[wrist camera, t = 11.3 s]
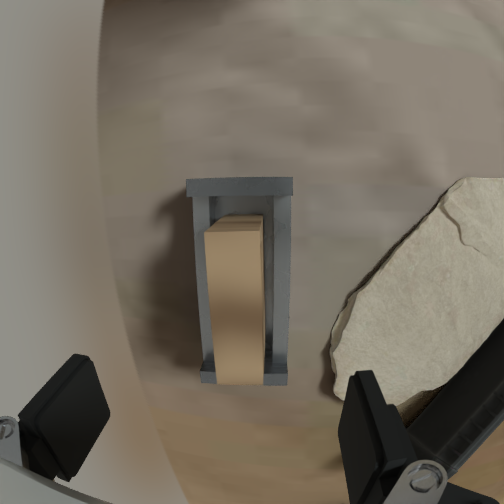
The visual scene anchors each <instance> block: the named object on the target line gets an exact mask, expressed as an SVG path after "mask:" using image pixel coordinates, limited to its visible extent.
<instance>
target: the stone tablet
mask: <svg viewBox="0 0 504 504" xmlns="http://www.w3.org/2000/svg"><path fill="white" fill-rule="evenodd" d="M503 318H504V178H496V179H495V178H474V177H467V178H463V179H461V180H458V181H457V182H456V183H455V184H454V186H452V187H451V188H449V190H448V191H447V193H446V194H445V195H444V196H443V197H441V199H440V201H439V203H438V205H437V206H436V208H435V209H434V210H433V211H432V212H431V213H430V214H429V215H427V216H425V218H424V219H423V220H422V221H421V222H420V224H419V225H418V226H417V228H416V229H415V230H414V231H413V232H412V233H411V234H410V235H409V236H408V237H407V238H406V239H405V240H404V241H403V242H402V243H400V244H399V245H398V246H397V247H396V248H395V250H394V251H393V252H392V254H391V255H390V257H389V258H388V259H387V261H385V262H384V263H383V264H382V266H381V267H380V268H379V270H378V271H377V272H376V273H375V274H374V275H373V276H372V277H371V278H370V280H369V281H368V282H367V283H366V284H365V285H364V286H363V287H361V288H360V289H359V290H358V291H356V292H354V293H353V294H352V295H351V297H350V298H349V299H348V303H347V306H346V307H345V308H344V309H343V310H342V311H341V312H340V313H339V316H338V319H337V321H336V322H335V324H334V326H333V329H332V339H331V347H330V357H331V366H332V370H333V372H334V373H335V383H334V385H333V391H334V394H335V395H336V396H338V397H339V398H340V399H341V400H345V396H346V391H347V386H348V381H349V377H350V376H351V375H354V374H355V372H356V371H362V370H372V371H373V372H374V375H375V377H376V379H377V382H378V384H379V386H380V389H381V391H382V394H383V396H384V399H385V401H386V404H394V405H395V406H398V405H399V404H401V403H403V402H404V401H406V400H407V399H409V398H410V397H412V396H413V395H415V394H416V393H418V392H420V391H425V390H433V389H435V388H437V387H440V386H442V385H443V384H445V383H447V382H448V380H449V379H450V378H452V377H453V376H454V375H455V374H456V373H457V372H458V371H459V370H460V369H461V368H462V367H463V366H464V364H465V363H466V362H467V360H468V359H469V358H470V356H471V355H472V354H473V353H474V352H475V351H476V350H477V349H478V348H479V347H480V346H481V345H482V343H483V342H484V341H485V340H486V339H487V338H488V337H489V335H490V334H491V332H492V331H493V330H494V329H495V328H496V327H497V326H498V325H499V323H500V322H501V321H502V320H503Z"/></svg>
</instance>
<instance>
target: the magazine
mask: <svg viewBox="0 0 504 504" xmlns="http://www.w3.org/2000/svg"><path fill="white" fill-rule="evenodd" d="M503 420H504V319H503V320H502V321H501V322H500V324H499V325H498V326H497V327H496V328H495V330H494V331H493V332H492V333H491V334H490V335H489V337H488V338H487V339H486V340H485V341H484V342H483V344H482V345H481V346H480V347H479V348H478V349H477V351H476V352H475V353H474V354H473V355H472V356H471V357H470V358H469V360H468V361H467V362H466V363H465V364H464V366H463V367H462V368H461V369H460V370H459V371H458V372H457V373H456V374H455V375H454V376H453V378H452V379H451V380H450V381H449V382H448V383H447V384H446V386H445V387H444V388H443V389H442V390H441V391H440V392H439V394H438V395H437V396H436V397H435V398H434V400H433V401H432V402H431V403H430V404H429V405H428V406H427V407H426V409H425V410H424V411H423V412H422V413H421V414H420V415H419V416H418V417H417V418H416V419H415V421H414V422H413V423H412V424H411V425H410V426H409V427H408V428H407V427H405V429H406V432H407V434H408V436H409V439H410V441H411V444H412V446H413V449H414V451H415V454H416V456H417V459H418V461H419V460H431V461H435V462H437V463H439V464H440V465H441V466H442V467H443V468H444V469H445V471H446V472H447V477H448V479H449V478H450V477H452V476H453V475H454V474H455V473H457V472H458V469H459V468H460V467H461V466H462V465H463V464H464V463H465V462H466V461H467V460H468V458H469V457H470V456H471V455H472V454H473V453H474V452H475V451H476V450H477V449H478V448H479V447H480V446H481V444H482V443H483V442H484V441H485V440H486V439H487V438H488V437H489V436H490V434H491V433H492V432H493V431H494V430H495V429H496V428H497V427H498V426H499V425H500V424H501V422H502V421H503ZM456 469H457V470H456Z"/></svg>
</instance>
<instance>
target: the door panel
mask: <svg viewBox="0 0 504 504" xmlns="http://www.w3.org/2000/svg"><path fill="white" fill-rule="evenodd" d="M204 239H205V256H206V270H207V283H208V296H209V308H210V319H211V330H212V340H213V350H214V360H215V369H216V377H217V384H227V385H263V377H264V355H265V331H266V325H265V271H264V228H263V214H230V215H224V216H223V217H222V218H220V219H219V220H218V221H217V222H216V223H214V224H213V225H212V226H211V227H210V228H209V229H207V230H206V231H205V232H204Z"/></svg>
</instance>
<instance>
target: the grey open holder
mask: <svg viewBox="0 0 504 504" xmlns="http://www.w3.org/2000/svg"><path fill="white" fill-rule="evenodd" d="M186 192H187V197H192V198H193V224H194V244H195V262H196V278H197V292H198V305H199V317H200V329H201V340H202V350H203V360H204V361H203V364H202V367H201V369H200V377H201V383H213V384H217V377H216V369H215V360H214V350H213V340H212V330H211V319H210V308H209V296H208V283H207V270H206V256H205V239H204V232H205V231H206V230H207V229H209V228H210V227H211V226H212V225H213V224H214V223H216V222H217V221H218V220H219V219H220V218H222V217H223V216H224V215H230V214H263V228H264V271H265V325H266V331H265V355H264V377H263V385H275V386H279V385H287V378H288V370H287V352H288V328H289V299H290V257H291V196H293V177H236V178H204V179H186Z"/></svg>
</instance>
